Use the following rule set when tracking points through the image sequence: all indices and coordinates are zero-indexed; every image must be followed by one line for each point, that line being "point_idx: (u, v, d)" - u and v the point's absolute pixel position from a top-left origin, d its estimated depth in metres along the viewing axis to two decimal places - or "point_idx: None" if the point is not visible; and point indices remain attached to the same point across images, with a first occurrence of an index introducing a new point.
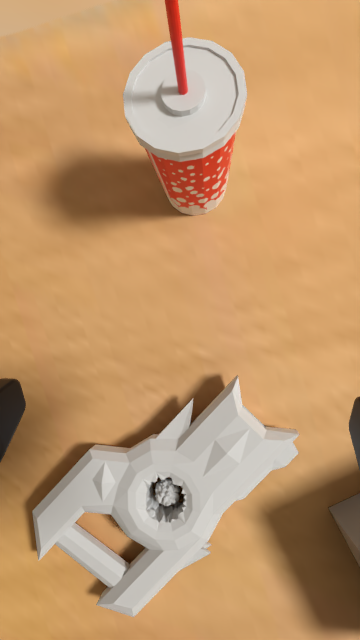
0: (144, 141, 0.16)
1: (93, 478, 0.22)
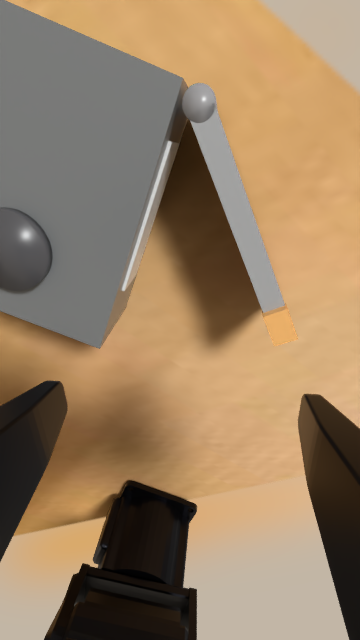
0: None
1: None
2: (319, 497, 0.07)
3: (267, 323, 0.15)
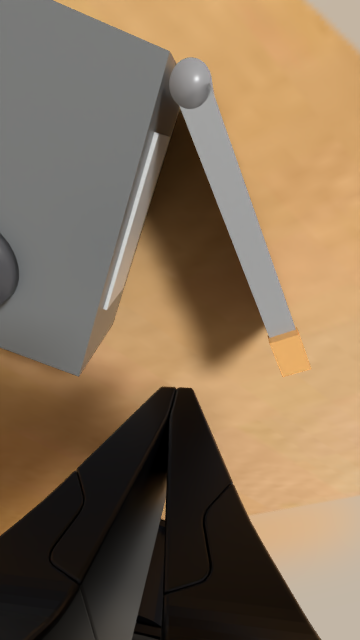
0: None
1: None
2: None
3: (274, 350, 0.12)
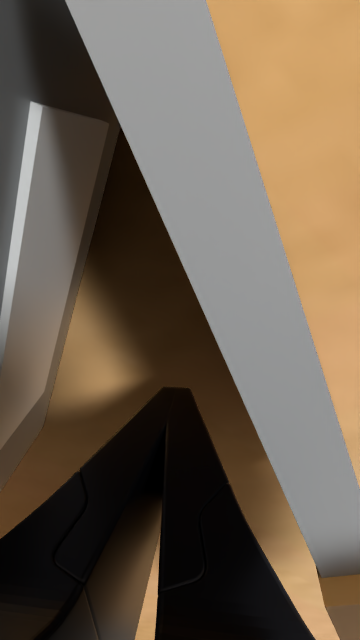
0: None
1: None
2: None
3: (335, 617, 0.05)
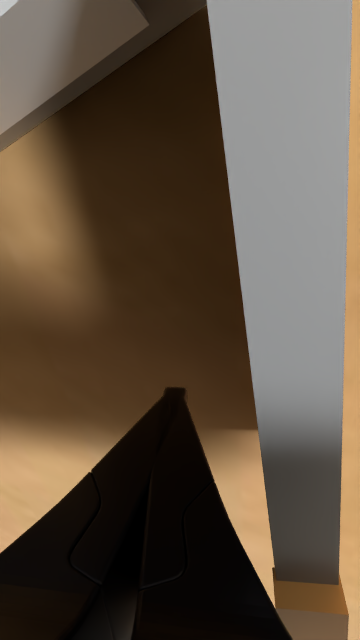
0: None
1: None
2: None
3: (282, 619, 0.06)
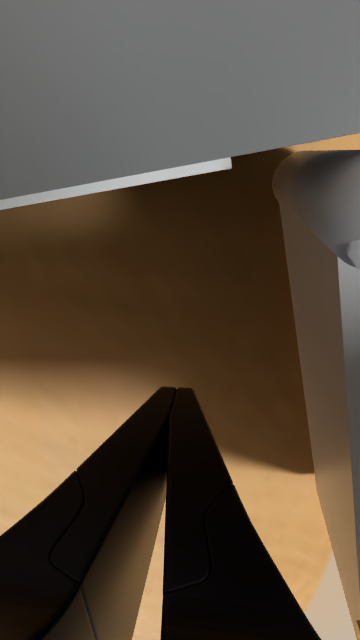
0: None
1: None
2: None
3: None
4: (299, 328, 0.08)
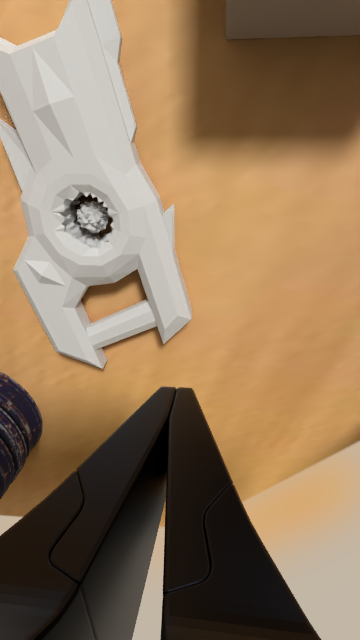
0: None
1: (38, 280, 0.19)
2: None
3: None
4: None
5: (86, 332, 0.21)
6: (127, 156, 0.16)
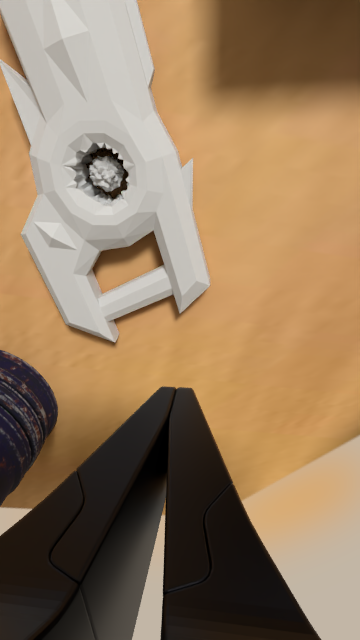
0: None
1: (48, 244, 0.18)
2: None
3: None
4: None
5: (98, 302, 0.20)
6: (145, 101, 0.15)
